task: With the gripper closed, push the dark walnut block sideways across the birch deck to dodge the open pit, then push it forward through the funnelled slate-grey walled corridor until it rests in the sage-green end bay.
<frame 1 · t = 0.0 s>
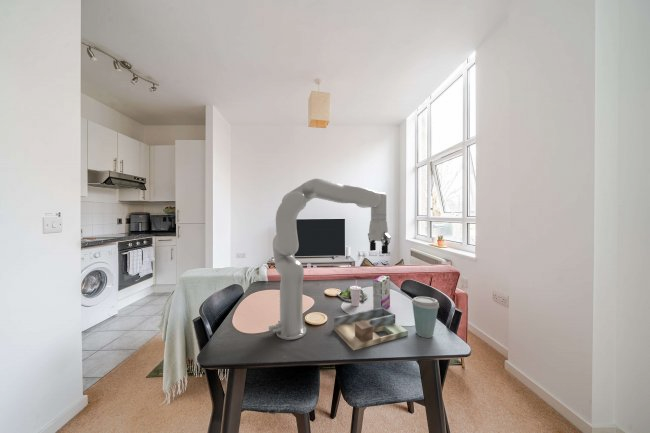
hand: (378, 251, 117), 31 cm above the table, fingers open, 9 cm apart
disposable coffee cup: (424, 334, 98), on the table
deck: (365, 333, 99), on the table
salad plate: (352, 297, 142), on the table
smoothie: (355, 305, 129), on the table
walnut block: (363, 337, 92), point 2 cm above the table, touching deck
candy bar box: (381, 309, 124), on the table
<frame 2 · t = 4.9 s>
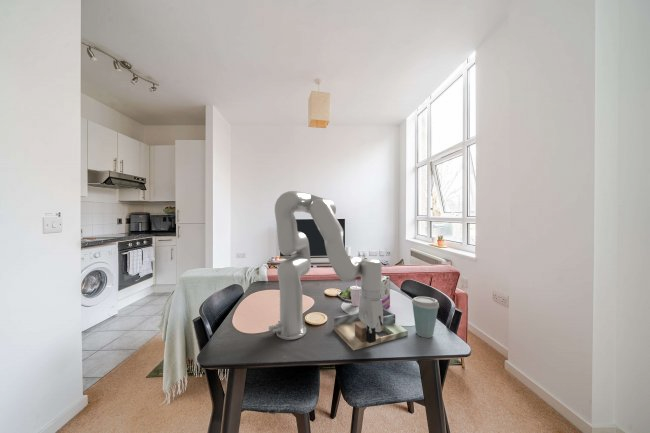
hand: (371, 341, 88), 3 cm above the table, fingers closed
walnut block: (363, 337, 92), point 2 cm above the table, touching deck, gripper
everything else where it was.
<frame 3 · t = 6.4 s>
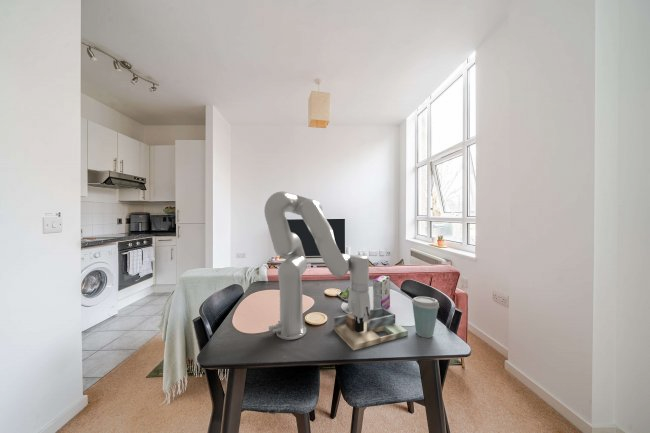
hand: (359, 330, 95), 3 cm above the table, fingers closed
walnut block: (354, 327, 100), point 2 cm above the table, touching gripper
everything else where it was.
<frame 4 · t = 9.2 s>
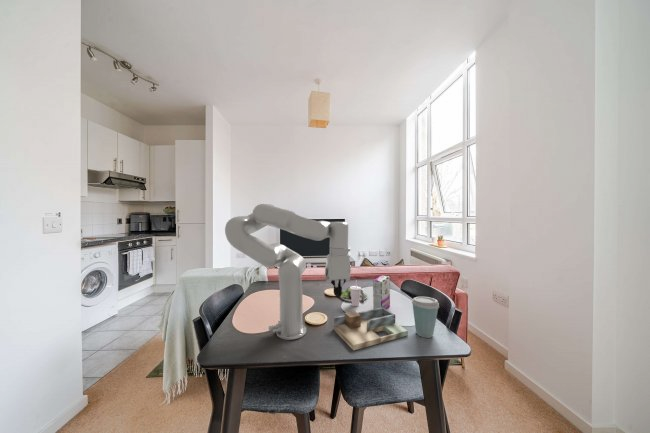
hand: (337, 295, 97), 17 cm above the table, fingers closed
walnut block: (352, 325, 102), point 2 cm above the table, touching deck
everything else where it was.
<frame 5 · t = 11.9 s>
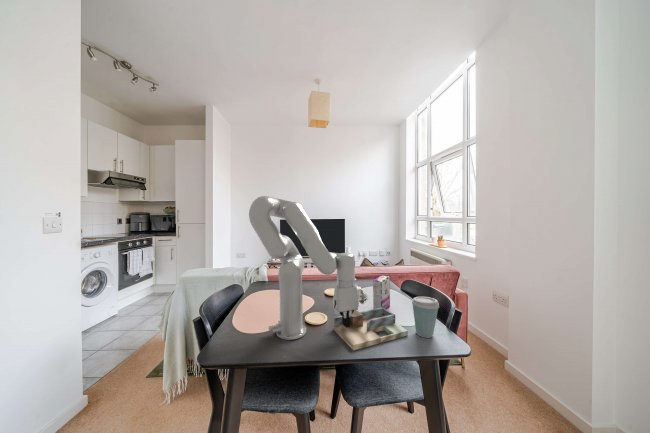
hand: (346, 325, 99), 3 cm above the table, fingers closed
walnut block: (354, 324, 102), point 2 cm above the table, touching deck, gripper
everything else where it was.
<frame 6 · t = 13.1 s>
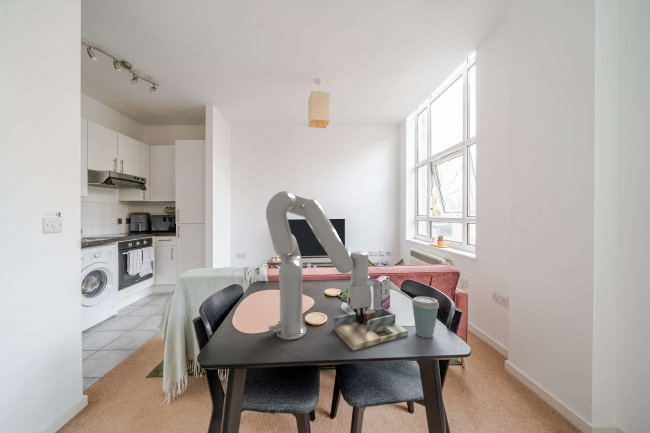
hand: (359, 322, 102), 3 cm above the table, fingers closed
walnut block: (368, 322, 105), point 2 cm above the table, touching deck, gripper
everything else where it was.
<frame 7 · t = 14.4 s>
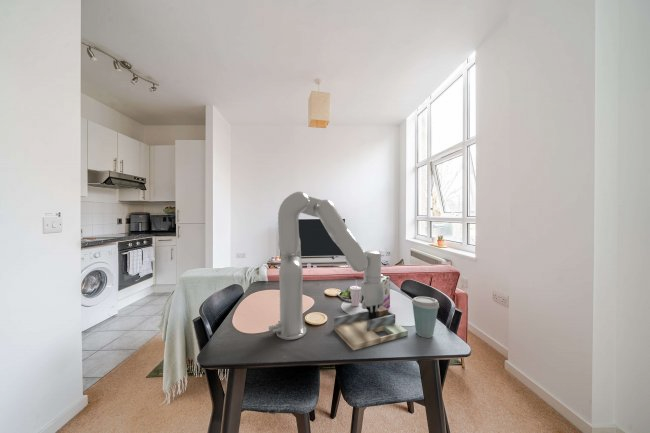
hand: (372, 319, 105), 3 cm above the table, fingers closed
walnut block: (380, 319, 108), point 2 cm above the table, touching deck
everything else where it was.
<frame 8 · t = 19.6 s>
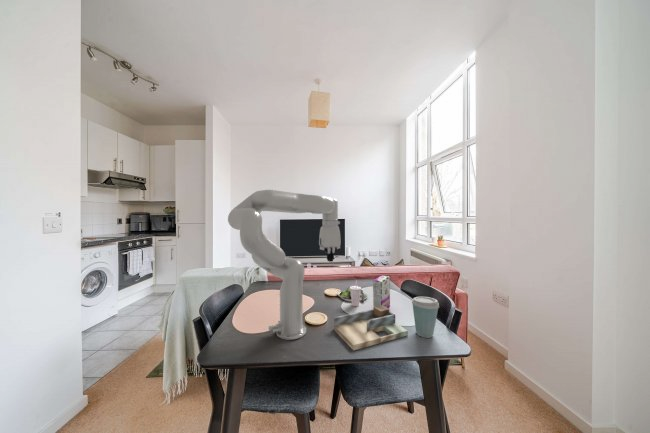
hand: (330, 261, 116), 27 cm above the table, fingers closed
nothing on the table moved.
at the end: walnut block inside the target area (1.4 cm from its centre), point 2.0 cm above the table; walnut block tilted 0° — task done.
